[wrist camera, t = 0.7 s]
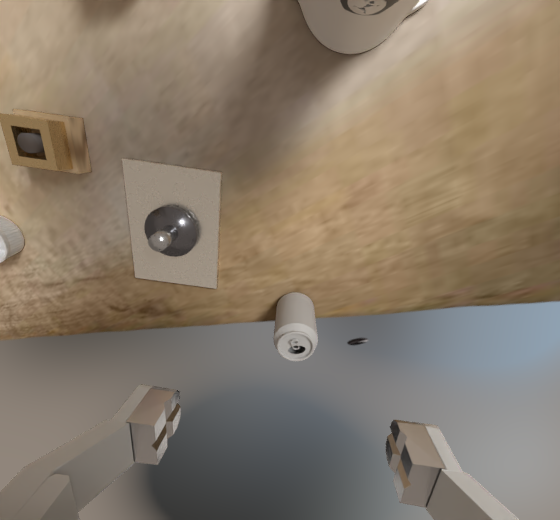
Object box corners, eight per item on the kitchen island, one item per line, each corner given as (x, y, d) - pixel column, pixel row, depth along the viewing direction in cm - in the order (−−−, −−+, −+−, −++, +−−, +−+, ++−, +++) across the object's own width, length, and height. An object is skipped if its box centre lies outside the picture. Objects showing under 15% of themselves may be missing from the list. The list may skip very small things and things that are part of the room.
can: (281, 322, 56) (278, 367, 45) (273, 293, 53) (268, 333, 42) (316, 317, 55) (321, 362, 44) (310, 287, 52) (315, 326, 41)
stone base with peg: (125, 158, 43) (94, 161, 36) (222, 172, 43) (209, 178, 37) (137, 275, 52) (114, 295, 46) (217, 286, 53) (206, 308, 46)
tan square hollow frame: (18, 115, 38) (-3, 113, 36) (64, 121, 39) (46, 120, 36) (30, 162, 41) (12, 164, 38) (73, 168, 41) (57, 170, 39)
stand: (31, 110, 41) (-12, 106, 35) (82, 118, 41) (49, 115, 35) (43, 164, 44) (7, 168, 38) (91, 171, 44) (61, 176, 39)
